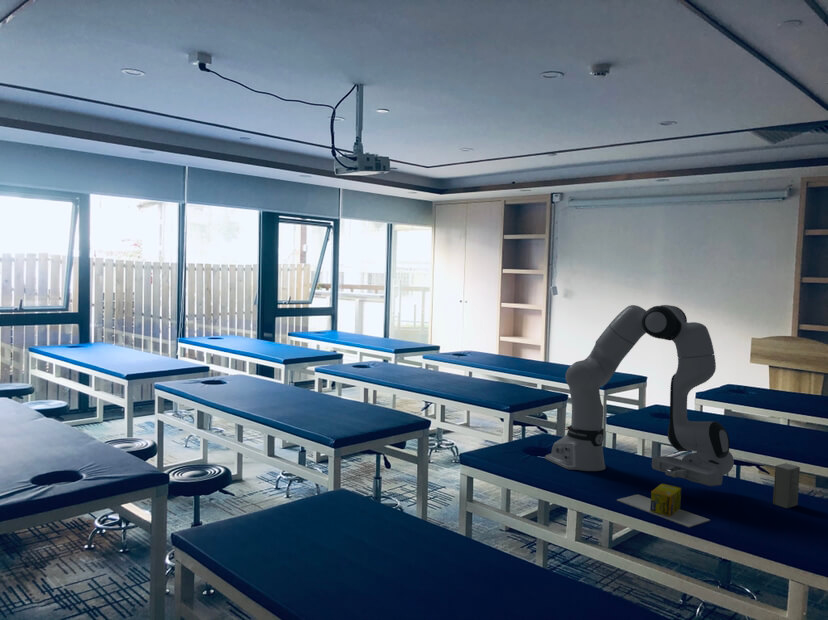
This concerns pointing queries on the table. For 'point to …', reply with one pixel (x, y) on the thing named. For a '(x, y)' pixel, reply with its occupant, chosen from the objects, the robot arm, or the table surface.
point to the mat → (677, 517)
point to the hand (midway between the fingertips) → (669, 473)
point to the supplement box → (666, 499)
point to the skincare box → (786, 485)
